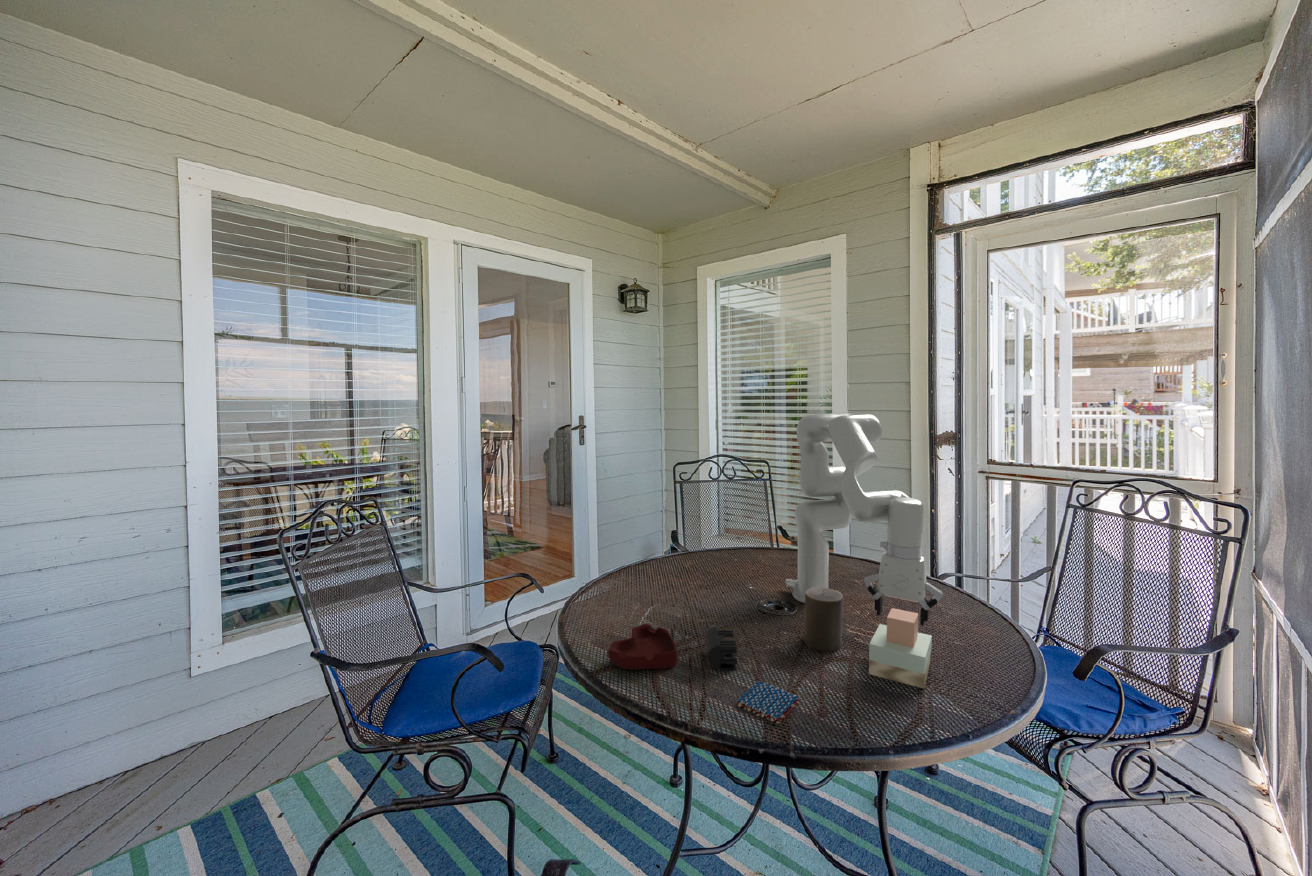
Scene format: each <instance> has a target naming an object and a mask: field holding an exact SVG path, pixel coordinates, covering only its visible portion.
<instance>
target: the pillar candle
mask: <svg viewBox="0 0 1312 876" xmlns="http://www.w3.org/2000/svg"><path fill="white" fill-rule="evenodd" d="M843 600H844V597H843V594H842V592H839V590H835V589H832V588H829V587H828V588H821V587H820V588H819V587H818V588H810V589H808V590H806V592H805V603H804V625H803V627H804V628H803V630H804V631H803V642H804V644H805V645H806V646H808V647H809V648H810V649H813V650H814V651H815V650H816V651H819V652H826V653H828V652H835V651H838V650H840V649H841V648H842V645H843V643H842V641H843V640H842V639H843V637H842V635H843V612H844V611H843V610H844V609H843V608H844V607H843V606H844V605H843V604H844V601H843Z"/></svg>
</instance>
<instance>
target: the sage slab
mask: <svg viewBox="0 0 1312 876" xmlns="http://www.w3.org/2000/svg"><path fill="white" fill-rule="evenodd" d="M886 636H887V624H882V623H879V625H878V627H877V629H876V631H875V632H874V634H873V636H872V638H871V640H870V642H869V643H868V644H869V649H868V655H869V656H868V661H869V660H872V661H876V662H880V663H884V664H887V665H891V666H895V667H899V668H903V669H907V670H910V671H914V672H918V673H922V674H925V671H926V668H927V664H928V661H929V657H930V658H931V655H932V654H931V653H932V643H933V641H932V640H933V636H932V635H931V634H927V633H922V632H918V637H917V640H916V643H915V645H914V647H909V646H905V645H901V644H897V643H893V642H888V641H886Z"/></svg>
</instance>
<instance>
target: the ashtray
mask: <svg viewBox="0 0 1312 876" xmlns="http://www.w3.org/2000/svg"><path fill="white" fill-rule="evenodd" d="M607 657H608V659H609V661H610V662H611V663H612V664H613V665H614V666H616V667H617V668H620V669H624V670H629V671H630V670H631V671H635V670H636V671H637V670H657V669H661V670H663V669H670V668H673V667H674V666H676V665H677V663H678V650H677V646H676V644H675V641H674V639H673V638H672V636H671V633H670V631H668V629H666V628H664V627H660V626H658V627H657V628H656V629H655V628H653V626H652V625H651V624H650V623H643V624H640V625H637V626H634V627H632V629H631V637H629V638H627V639H622V640H615V641H613V642H612V643H611V644H610V646H609V648H608V651H607Z"/></svg>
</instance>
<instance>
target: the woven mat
mask: <svg viewBox="0 0 1312 876" xmlns="http://www.w3.org/2000/svg"><path fill="white" fill-rule="evenodd" d="M740 696H741V697H740V698H737V703H736V704H737V707H739V708H743V707H744V708H743V709H744V710H747V711H748V712H751V711H752V713H753V714H756V713H757V714H756V716H757V717H759V716H760V717H762V718H763V719H764V718H765V719H767V720H770V721H771V722H772V723H774V722H775V721H776V722H775V724H778V725H779V724H780V723H781V722H782V721H783V720H785V719H786V717H787V716H789V713H790V712H791V711H792V710H793V709H796V706H797V705H799V702H800V699H799V695H796V694H793V693H791V692H787V690H782V689H781V688H778V687H775V685H774V686H773V685H770V684H769V683H768V684H766V682H763V681H760V682H759V681H758V682H756V681H755V684H754V685H752V688H748V691H745V692H744V694H741V695H740Z"/></svg>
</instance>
